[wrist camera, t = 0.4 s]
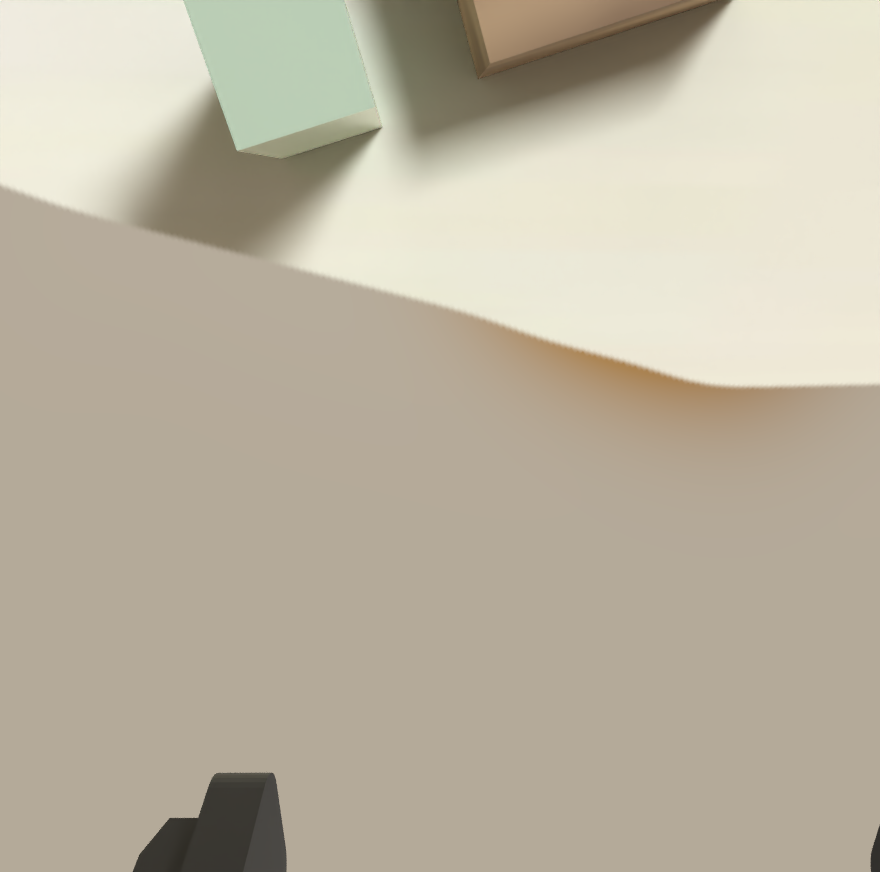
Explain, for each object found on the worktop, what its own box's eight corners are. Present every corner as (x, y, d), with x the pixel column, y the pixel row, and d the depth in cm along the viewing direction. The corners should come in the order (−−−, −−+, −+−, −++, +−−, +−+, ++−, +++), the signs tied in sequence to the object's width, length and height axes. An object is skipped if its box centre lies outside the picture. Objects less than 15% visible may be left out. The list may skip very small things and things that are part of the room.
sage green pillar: (244, 48, 33) (181, -6, 23) (348, 14, 33) (327, -54, 23) (282, 158, 34) (236, 151, 25) (382, 127, 34) (375, 106, 24)
